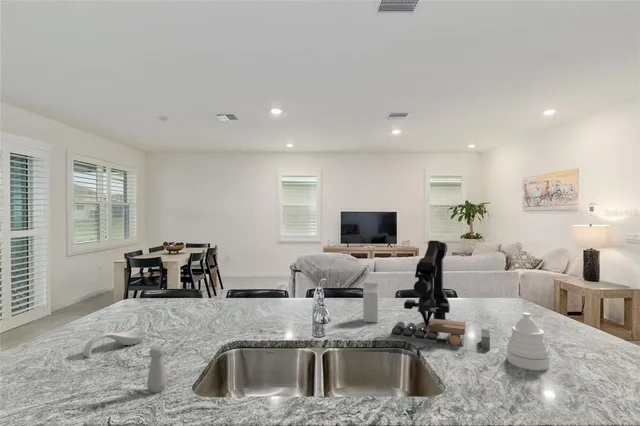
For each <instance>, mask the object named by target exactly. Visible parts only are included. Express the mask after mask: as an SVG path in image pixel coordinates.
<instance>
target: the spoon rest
mask: <svg viewBox="0 0 640 426" xmlns="http://www.w3.org/2000/svg"><path fill="white" fill-rule="evenodd" d="M147 335H148V333H147V332H146V331H143V330H142V331H141V330H138V331H137V330H132V331H122V332H103V333H100V334H98V335H95V336H94V337H92V338H91V339H90V340H89V341H88V342H87V343H86V345H85V346H84V347H83V352H82V356H83V357H85V358H87V359H91V356H92V349H93V347H94V346H95V344H96V343H97V342H99V341H100V340H102V339H105V338H109V339H112V340H114V341H115V342H116V343H118V344H120V345H121V346H123V345H131V346H134V345H133V344H135V345H138V344H139V343H140V342H142V341H143V340H144V339H145V338H146V337H147Z"/></svg>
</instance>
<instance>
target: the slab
mask: <svg viewBox="0 0 640 426" xmlns="http://www.w3.org/2000/svg"><path fill="white" fill-rule="evenodd" d="M428 330H429V331H434V332H440V333H443V334H450V335H451V334H458V335H461V336H465V333H466V321H458V320H457V321H456V320H449V319H447V320H441V319H433V318H430V321H429V324H428Z"/></svg>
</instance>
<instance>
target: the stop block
mask: <svg viewBox="0 0 640 426" xmlns="http://www.w3.org/2000/svg"><path fill="white" fill-rule="evenodd" d="M480 331H481V332H480V333H481V335H480V336H481V337H480V338H481V350H486V351H491V339H490V338H491V336H490V335H491V334H490V329H486V328H485V329H484V328H481V329H480Z"/></svg>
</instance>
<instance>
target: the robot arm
mask: <svg viewBox="0 0 640 426" xmlns="http://www.w3.org/2000/svg"><path fill="white" fill-rule="evenodd" d="M447 252H448V244H446V243H445V242H443V241H440V240H428V242H427V248H426V251H425V253H424V257H421V258H420V259H419V261H418V263H416V268H415V275H414V278H415V279H417V278H418V280H417V281H416V282H415V283H414V284H413V289H414V292H415V293H416V294H418V295H419V298H418V302H416V300H413V299H407V300H405V301H404V303H403V309H406V310H412V309H413V308H417V312H418V313H420V315H421V317H422V319H423V321H424V325H426V326H427V327H429V323H430V321H431V316H432V315H433V316H432V317H433V318H432V319H441V320H448V319H446V314H449V313H450V311H451V305H450V303H449V300H448V298H447V293H446V291H445V290H444V273H443V272H444V271H443V270H444V269H443V268H444V266H443V265H444V263H443V260H444V259H445V257H446V256H447Z"/></svg>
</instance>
